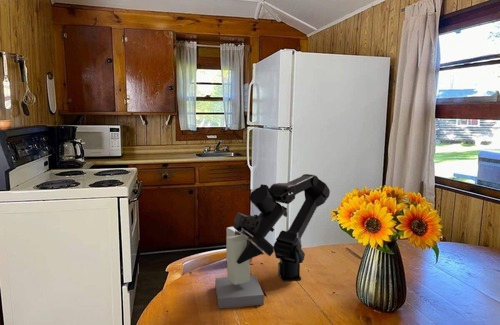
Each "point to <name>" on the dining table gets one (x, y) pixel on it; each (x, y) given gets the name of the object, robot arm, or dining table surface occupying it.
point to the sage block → (234, 250)
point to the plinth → (238, 293)
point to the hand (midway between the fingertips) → (234, 259)
